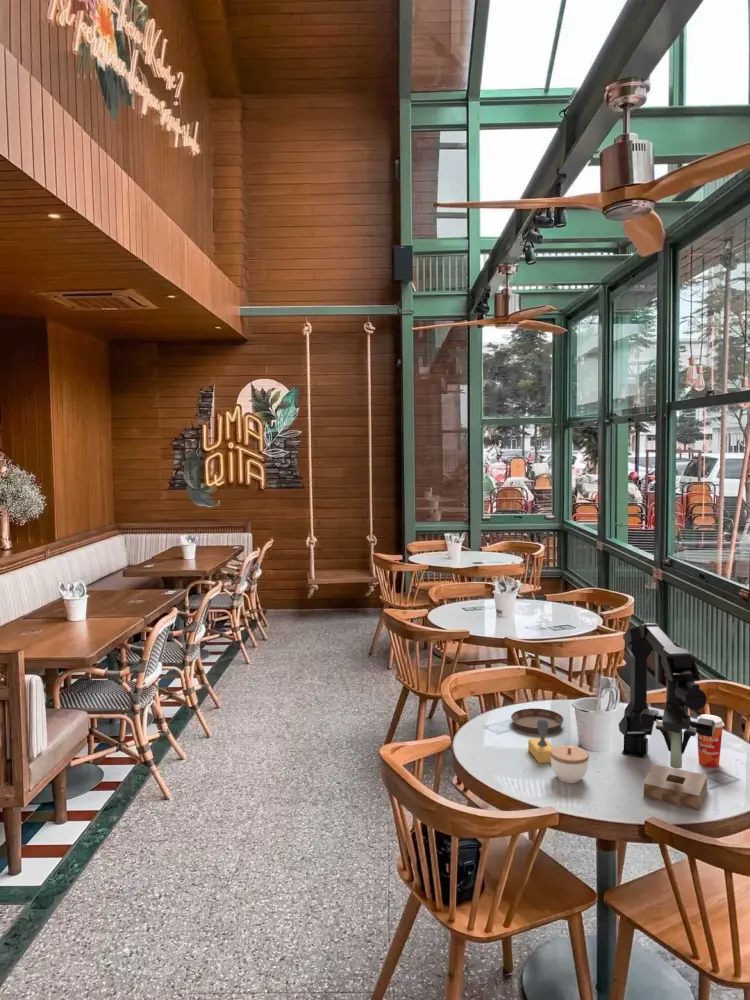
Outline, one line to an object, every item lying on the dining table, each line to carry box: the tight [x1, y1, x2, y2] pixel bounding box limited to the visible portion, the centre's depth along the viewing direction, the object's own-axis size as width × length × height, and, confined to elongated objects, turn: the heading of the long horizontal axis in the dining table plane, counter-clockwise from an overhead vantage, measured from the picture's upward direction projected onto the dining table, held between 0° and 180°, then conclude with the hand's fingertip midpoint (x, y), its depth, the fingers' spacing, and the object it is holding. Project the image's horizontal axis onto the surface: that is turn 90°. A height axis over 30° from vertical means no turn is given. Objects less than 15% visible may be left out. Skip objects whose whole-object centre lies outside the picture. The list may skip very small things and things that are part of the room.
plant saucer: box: [510, 707, 565, 734], centre depth 257 cm, size 18×18×3 cm
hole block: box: [643, 763, 708, 811], centre depth 206 cm, size 14×14×4 cm
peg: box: [669, 730, 684, 769], centre depth 206 cm, size 3×3×10 cm
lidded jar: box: [550, 744, 590, 784], centre depth 216 cm, size 11×11×9 cm
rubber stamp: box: [527, 718, 555, 764], centre depth 232 cm, size 10×6×12 cm, turn 7°
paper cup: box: [695, 713, 725, 768], centre depth 224 cm, size 8×8×14 cm
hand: (676, 752), depth 206 cm, fingers closed on peg, 3 cm apart
